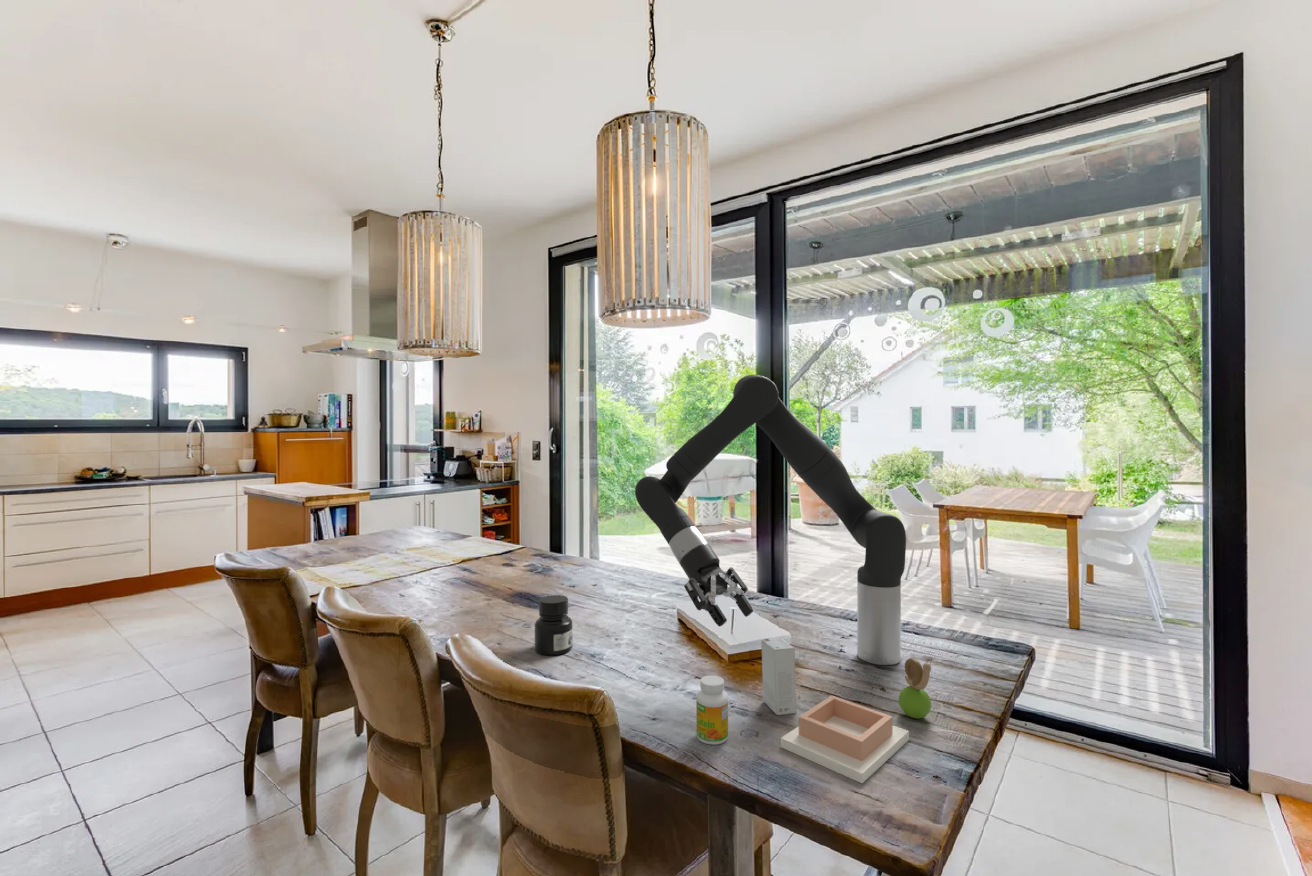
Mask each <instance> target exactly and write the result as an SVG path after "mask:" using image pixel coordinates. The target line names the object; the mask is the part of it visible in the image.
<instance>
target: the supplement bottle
mask: <svg viewBox="0 0 1312 876" xmlns="http://www.w3.org/2000/svg"><path fill="white" fill-rule="evenodd" d="M695 710H696V713H695V714H696V722H695V723H696V726H695V727H696V728H695V729H696V732H695V733H696V734H695V735H696V737H697V739H698V740H699V741H700V742H701V743H704V744H707V745H710V746H711V745H713V746H714V745H721V744H724V743H725V742H726V741H727V740H728V737H729V696H728V693H727V692H726V691H725V680H724V679H723V678H722V677H721V676H719V675H718V676H717V675H706V676H705V675H704V676H703V677H701V678H700V690H698V692H697V693H696V709H695Z"/></svg>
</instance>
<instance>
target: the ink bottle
mask: <svg viewBox="0 0 1312 876" xmlns="http://www.w3.org/2000/svg"><path fill="white" fill-rule="evenodd" d="M568 613H569V598H568V596H565V595H561V594H551V595H545V596H542V597H540V598H539V599H538V616H539V617H538V619H536V621H535V622H534V650H535V652H536V653H538V654H540V655H545V656H558V655H559V656H560V655H563V654H566V653H568V652H569V651H571V650H572V649H573V645H574V644H573V643H574V642H573V641H574V640H573V637H574V636H573V635H574V634H573V627H574V626H573V619H572V618H570V617H569V615H568Z"/></svg>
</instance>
